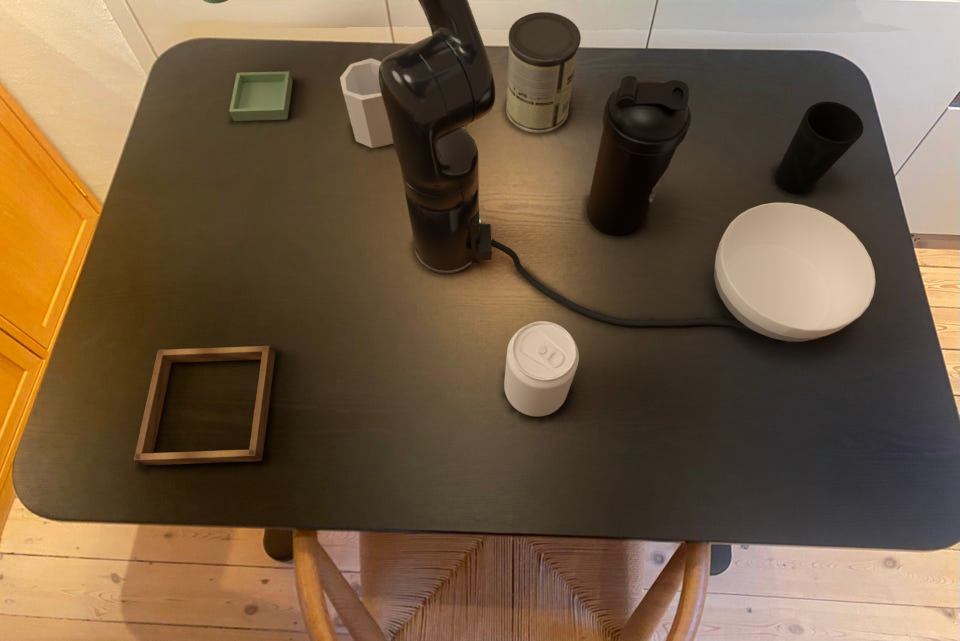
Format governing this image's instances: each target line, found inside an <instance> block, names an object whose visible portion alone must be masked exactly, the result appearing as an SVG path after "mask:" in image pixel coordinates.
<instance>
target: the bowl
mask: <svg viewBox="0 0 960 641" xmlns="http://www.w3.org/2000/svg"><path fill="white" fill-rule="evenodd" d="M716 249H717V250H716V253H715V259H714V264H713V265H714V267H713V278H714V284H715V288H716V290H717V293H718V295H719V298H720V299H721V301H722V302H723V304H724V305H725V307H726V309H727V310H728V312H730V313H731V314H732V315H733V316H734V318H735V319H736V321H740V322H741V323H743V324H744V325H745V326H746V327H748V328H750V329H752V330H754V331H755V332H754V333H757V334H760V335H763V336H765V337H768V338H771V339H774V340H780V341H785V342H807V341H812V340H817V339H820V338H822V337H826V336H829V335H831V334H834V333H836V332H839V331H840V330H842V329H844V328H845V327H847V326H848V325H850V324H852V323H853V322H855V321H856V320H857V319H858V318H860V317H861V316H862V315H863V314H864V313H865V312H866V310H867V309H868V308H869V307H870V304H871V301H872V300H873V297H874V294H875V288H876V274H875V273H876V272H875V268H874V264H873V262H872V258H871V256H870V254H869V253H868V250H867V249H866V247H865V246H864V244H863V243H862V242H861V241H860V239H859V238H858V237H857V235H856V234H855V233H854V232H853V231H851V230H850V229H849V227H847V226H846V225H845V224H844V223H842V222H840V221H839V220H838V219H836V218H835V217H833V216H832V215H829V214H827V213H825V212H824V211H821V210H819V209H817V208H814V207H810V206H807V205H804V204H800V203H799V204H798V203H793V202H770V203H764V204H760V205H757V206H754V207H751V208H748V209H747V210H745V211H743V212H741V213H740V214H739V215H737V216H735V218H734V219H733V220H732V221H731V222H730V223H729V224H728V225H727V228H726V229H725V231H724V232H723V235H722V237H721V239H720V241H719V243H718V246H717V248H716Z"/></svg>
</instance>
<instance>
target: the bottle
mask: <svg viewBox="0 0 960 641" xmlns="http://www.w3.org/2000/svg"><path fill="white" fill-rule="evenodd" d="M202 1H203V2H205V3H208V4H221V3H226V2H228V1H229V0H202Z"/></svg>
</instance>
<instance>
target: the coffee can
mask: <svg viewBox="0 0 960 641" xmlns="http://www.w3.org/2000/svg"><path fill="white" fill-rule="evenodd" d="M581 36H582V35H581V32H580V29H579V28H578V26H577V24H576V23H575V22H574V21H572V20H571V19H570V18H567V17H566V16H564V15H561V14H559V13H555V12H548V11H547V12H546V11H538V12H532V13H529V14H526V15H524V16H521V17H520V18H518V19H516V20H515V22H513V23H512V24H511V26H510V28H509V31H508V62H507V64H508V65H507V89H506V92H507V93H506V105H505V112H506V116H507V118H508V119H509V121H510V122H511V123H512V124H513V125H514V126H515V127H517V128H518V129H520V130H522V131H525V132H529V133H532V134H533V133H534V134H542V133H543V134H544V133H549V132H552V131H554V130H557V129H558V128H560V127H561V126H562V125H563V124H564V123H565V122H566V120H567V118H568V115H569V108H570V101H571V95H572V89H573V82H574V76H575V71H576V64H577V58H578V52H579V51H578V50H579V49H580V44H581V40H582V39H581V38H582V37H581Z"/></svg>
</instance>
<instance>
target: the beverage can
mask: <svg viewBox="0 0 960 641" xmlns="http://www.w3.org/2000/svg"><path fill="white" fill-rule="evenodd" d="M579 361H580V353H579V349H578V345H577V342H576V341H575V339H574V338H573V336H572V335H571V334H570V332H569V331H568V330H567V329H565V328H564V327H563V326H561V325H559V324H558V323H555V322H552V321H548V320H547V321H546V320H539V321H538V320H537V321H534V322H530V323H528V324H526V325H524V326H522V327H520V329H519V330H517V331H516V332H515V333H514V334H513V336H512V337H511V338H510V340H509V343H508V345H507V350H506V359H505V370H504V381H503V383H504V384H503V388H504V393H505V397H506V398H507V400H508V402H509V404H510V405H511V406H512V407H513V408H514V409H515V410H517V411H518V412H520V413H521V414H524V415H526V416H530V417H545V416H549V415H551V414H553V413H555V412H556V411H557V410H559V409H560V408H561V407H562V405H563V404H564V403H565V401H566V399H567V397H568V394H569V391H570V388H571V386H572V384H573V380H574V378H575V375H576V372H577V369H578V366H579Z"/></svg>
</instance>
